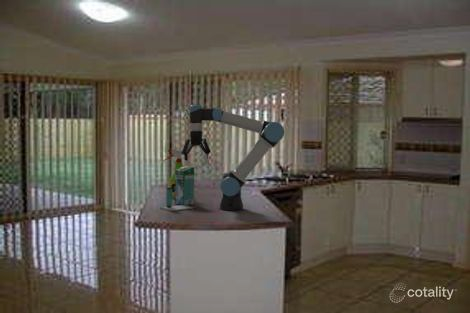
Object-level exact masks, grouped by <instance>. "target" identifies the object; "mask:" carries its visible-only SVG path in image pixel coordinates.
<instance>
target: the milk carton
mask: <svg viewBox="0 0 470 313" xmlns="http://www.w3.org/2000/svg"><path fill="white" fill-rule="evenodd" d="M174 173H175V199H174V204H176V205H178V206H179V205H185V206H189V205H188V204H191V205H194V204H195V166H190V165H189V166H186V165H183V167H180V168H179V169H177V170H175V169H174Z"/></svg>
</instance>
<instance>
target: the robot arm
mask: <svg viewBox="0 0 470 313" xmlns="http://www.w3.org/2000/svg"><path fill="white" fill-rule="evenodd" d="M204 121H205V122H207V121H211V122H213V121H214V122H217V123H221V124H224V125H228V126H232V127H235V128H238V129H242V130H245V131H250V132H253V133H257V134H259V135H258V140H257V141H256V143H255V144H254V145H253V146H252V148H251V149H250V150H249V151H248V152H247V153H246V155H245V156H244V157H243V159H242V160H241V161H240V162H239V163H238V165H237V166H236V167H235V168H234V169H231V170H230V171H229V172H224V173H223V175H222V180H221V182H220V185H219V186H220V190H221V193H222V197H221V201H220V203H219V209H221V210H224V211H241V210H244V204H243V200H242V187H243V186H244V185H245V184H246V182H247V181H246V179H247V178H248V176H249V175H250V174H251V172H252V171H253V170H254V169H255V168H256V167H257V165H258V164H259V163H260V162H261V160H262V159H263V158H264V156H265V155H266V154H267V153H268V152H269V150H270V149H272V148H273V149H274V148H275V147H276V146H277V145H278V144H279V142H280V141H281V140H282V139H283V138H284V135H285V128H284V126H283V125H282V124H281V123H279V122H278V121H267V120H262V121H261V120H257V119H253V118H250V117H247V116H243V115H239V114H236V113H232V112H228V111H225V110H222V108H219V107H211V108H208V107H206V108H204V107H203V106H202V105H201V104H191V105H190V106H189V130H190V131H189V138H185V143H184V145H183V147H182V150H181V152H182V154H183V155H182V156H184V161H185V166H189V167H190V155H189V153H191V150H192V149H193V148H194V147H197V146H198V147H199V148H200V149H201V150H202V152H203V165H208V159H209V154H211V153H212V152H211V149H210V146H209V144H208V142H207V138H206V137H203V131H202V130H203V122H204Z"/></svg>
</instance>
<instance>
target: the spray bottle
mask: <svg viewBox="0 0 470 313" xmlns="http://www.w3.org/2000/svg"><path fill="white" fill-rule="evenodd" d="M167 152H168V153H170V156H168V157H166V158H165V159H163V162H165V161H167V160H169V159H171V158H173V157H175V158H176V159H175V162H174V171H175V170H177V169H179V168H180V167H184V165H183V160H182V159H183V158H182V156H184V155H183V154H182V150H178V149H174V148H169V149H168V150H167ZM168 187H172V199H173V200H175V172H173V174H172V175H171V176H170V178H169V180H168Z"/></svg>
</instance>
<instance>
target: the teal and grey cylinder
mask: <svg viewBox="0 0 470 313" xmlns="http://www.w3.org/2000/svg"><path fill="white" fill-rule="evenodd" d="M165 188H166V193H165V194H166V196H165V201H166V202H165V203H166V206H165V207H167V208H171V206H173V198H172V187H169V186H167V187H165Z"/></svg>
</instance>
